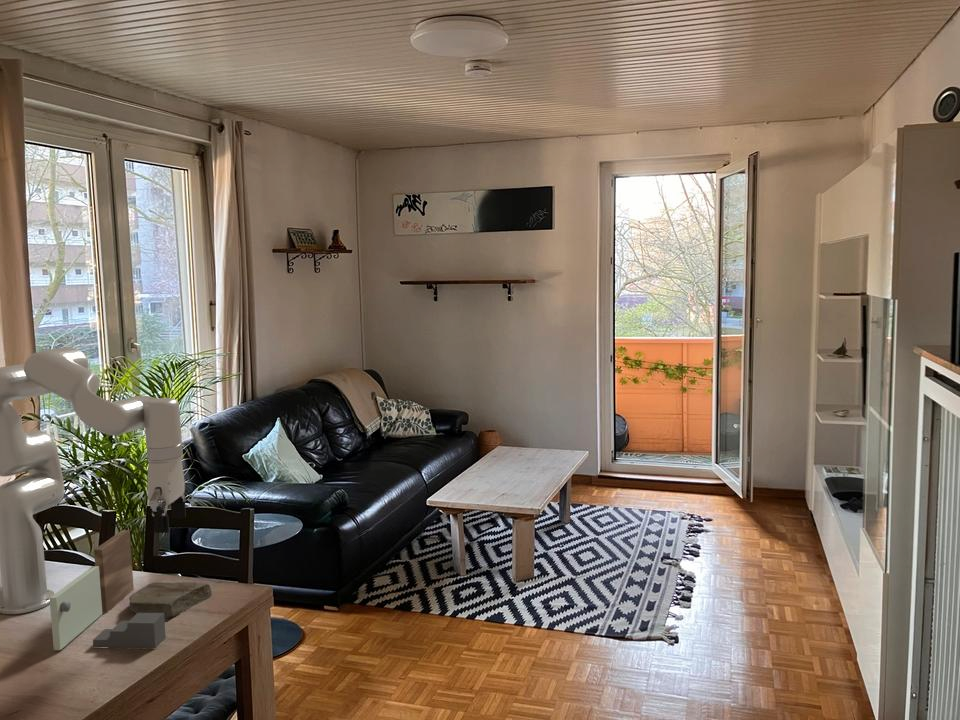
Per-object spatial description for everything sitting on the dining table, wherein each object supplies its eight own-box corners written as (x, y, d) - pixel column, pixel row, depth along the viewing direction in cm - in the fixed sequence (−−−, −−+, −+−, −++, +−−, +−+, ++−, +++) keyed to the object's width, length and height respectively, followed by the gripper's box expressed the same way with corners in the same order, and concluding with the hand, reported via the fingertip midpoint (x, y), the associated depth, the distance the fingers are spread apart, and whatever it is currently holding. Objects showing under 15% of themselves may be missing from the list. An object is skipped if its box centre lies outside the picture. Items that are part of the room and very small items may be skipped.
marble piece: (213, 595, 198) (212, 580, 198) (184, 622, 184) (183, 605, 183) (152, 592, 201) (151, 577, 200) (118, 618, 186) (117, 602, 186)
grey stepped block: (93, 648, 171) (91, 622, 170) (105, 637, 176) (103, 612, 175) (155, 649, 171) (153, 623, 170) (165, 638, 176) (164, 613, 175)
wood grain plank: (98, 612, 188) (94, 549, 186) (126, 589, 202) (122, 530, 200) (106, 612, 188) (102, 549, 186) (133, 589, 202) (129, 530, 200)
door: (53, 650, 169) (49, 597, 168) (96, 613, 187) (92, 566, 185) (65, 650, 169) (61, 597, 168) (107, 613, 187) (103, 566, 185)
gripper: (164, 444, 185) (169, 513, 187) (131, 462, 168) (137, 538, 170) (195, 443, 185) (200, 512, 187) (165, 461, 168) (171, 537, 170)
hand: (170, 525), depth 179 cm, fingers open, 9 cm apart
